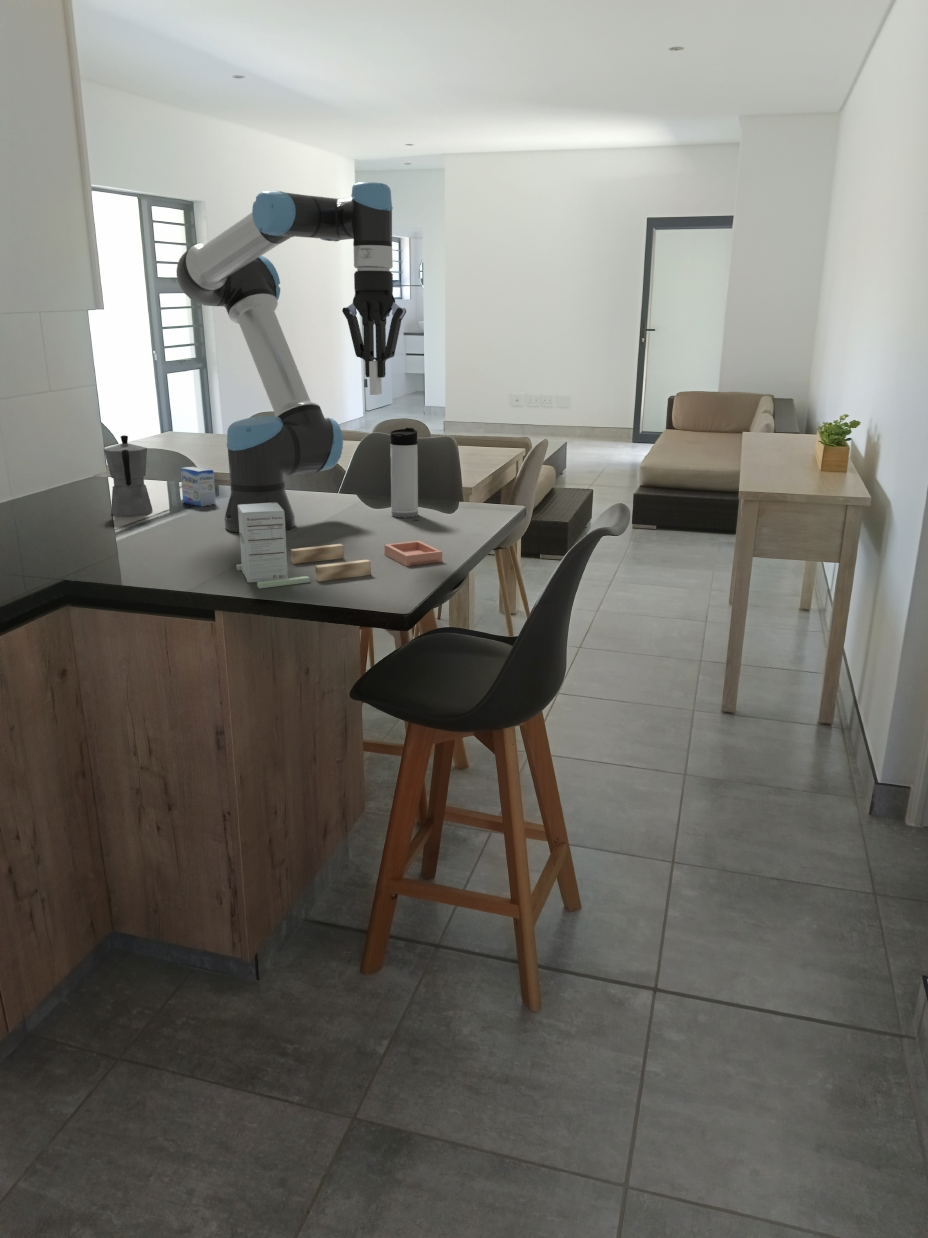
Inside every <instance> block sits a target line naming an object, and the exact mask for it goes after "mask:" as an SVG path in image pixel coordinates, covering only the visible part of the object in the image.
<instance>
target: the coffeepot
mask: <svg viewBox="0 0 928 1238" xmlns="http://www.w3.org/2000/svg"><path fill="white" fill-rule="evenodd" d="M119 438H120V440H121V443H120V444H117V445H113V446H110V447H107V448H104V449H103V452H104V456H105V460H106V464H107V467H108V471H109V476H110V478H112V479H113V486H112V490H111V491H112V492H111V507H110V508H111V509H110V513H111V514H112V515H113V516H115V517H140V516H146V515H149V514H151V513H152V512H153V506H152V503H151V500H150V499H151V498H150V495H149V492H148V488H147V485H146V484H145V477H146V475H147V473H146V472H147V456H148V455H147V453H148V452H147V451H148V448H147V447H145V446H141V445H137V444H132V443H128V441H129V439H128V438H129V436H128V435H124V434H123V435H121V436H120V437H119Z"/></svg>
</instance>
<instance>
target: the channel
mask: <svg viewBox="0 0 928 1238" xmlns="http://www.w3.org/2000/svg"><path fill="white" fill-rule="evenodd" d="M344 558H345V557H344V545H343V544H342V543H335V544H327V545H326V544H325V545H317V546H309V547H300V548H299V547H298V548H290V562H291V563H292V564H293V565H297V564H306V563H313V562H320V561H330V560H338V559H340V560H341V559H344ZM314 570H315V571H314V573H315V581H317V582H323V581H331V580H340V579H348V578H355V577H356V578H357V577H363V576H371V575H372V562H371V560H370V559H368V558H367V559H360V560H352V561H342V562H336V563H335V562H334V563H326V564H318V565H317V564H316V565H315V566H314Z"/></svg>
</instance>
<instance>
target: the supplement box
mask: <svg viewBox="0 0 928 1238" xmlns="http://www.w3.org/2000/svg"><path fill="white" fill-rule="evenodd" d="M238 518H239V532H240V533H239V532H238V533H239V546H240V547H239V548H240V562H241V563H240V564H242V570H241V571H242V573H243V575H244V578H245V579H246V582H247V583H248V584H249V583H257V582H264V581H272V580H280V579H288V578H289V571H288V554H287V553H288V552H287V537H286V536H287V535H286V533H287V530H285V514H284V510H283V509H282V508H281V506H280V505H279V504H278V503H258V504H242V505H238Z"/></svg>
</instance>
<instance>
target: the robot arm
mask: <svg viewBox="0 0 928 1238" xmlns="http://www.w3.org/2000/svg"><path fill="white" fill-rule="evenodd" d="M294 237H296V238H311V239H320V240H322V241H325V242H326V241H328V242H339V241H344V240H353V241H352V243H353V245H352V246H353V267H354V268H355V269H356V271H354V273H353V279H354V284H353V285H354V287H353V288H354V297H353V299H352V303H351V304H349V305H348V306H347V307H343V308H342V310H341V311H342V314H343V315H344V317H345V318H346V320H347V323H348V324H347V325H348V328H349V333H350V336H351V341H352V345H353V346H352V347H353V350H354V353H355V356H356V357H357V358H360V359H363V360H364V369H365V373H364V374H365V377H366V378H369V395H370V396H379V395H382V392H383V391H382V390H383V389H382V379H383V378H385V377H386V373H387V372H386V362H387V360H389V359H391V358H394V357H395V355H396V354H395V353H396V349H397V345H398V340H399V334H400V330H401V325H402V320H403V319H404V317H405V316H406V313H407V309H406V308H405V307H401V306H400V305H398V304H397V303H396V299H395V298H394V294H393V292H394V278H393V275H394V274H393V273H392V271H391V269H392V268H394V266H393V265H394V264H393V263H394V262H393V203H392V190H391V188H390V186H389V185H388V184H386V183H383V182H382V183H381V182H371V181H370V182H369V181H365V182H363V181H361V182H356V183H355V184H353V185H352V187H351V197H345V198H343V197H342V198H335V197H324V196H318V195H317V196H316V195H310V194H309V195H307V194H299V193H293V192H292V193H291V192H285V191H281V190H274V191H273V190H272V191H271V190H270V191H269V190H265V191H261V192H260V193H259V192H258V194H257V195H256V197H255V201H253V204H252V212H250V213H249V214H247V215H246V216H244V217H242V218H241V219H240V220H239V221H237V222H236V223H234V224H233V225H231V226H230V227H228V228H227V229H226V230H224V231H223V232H221V233H219V234H218V235H217V236H215V237H213V239H211V240H210V241H208V242H207V243H198V244H195V245H193V246H191V247H190V248H189V249H187V250H186V251H185V252H183V254H182V255H181V256H180V258H179V260H178V261H177V266H176V279H177V283H178V285H179V286H180V289H181V290H182V292H183V293H184V294H185V295H186V297H188V298H189V299H190V300H191V301H193V302H194V303H197V304H200V305H202V306H207V307H224V308H225V309H226V310H225V311H226V312H227V315H228V317H229V319H230V320H231V322H233V323H235V324H239V327H240V330H241V332H242V335H243V337H244V339H245V342H246V345H247V347H248V349H249V352H250V355H251V357H252V360H253V363H254V365H255V367H256V369H257V372H258V375H259V377H260V380H261V382H262V385H263V387H264V390H265V393H266V395H267V397H268V400H269V402H270V405H271V407H272V410H273V412H274V415H262V416H256V417H255V416H254V417H253V416H252V417H247V418H242V419H239V420H237V421H234V422H232V423H231V424H230V425H229V426H228V427H227V430H226V431H227V433H226V435H227V436H226V448H227V456H228V466H229V467H228V468H229V481H230V482H229V483H230V484H229V486H230V495H229V499H228V503H227V507H226V511H225V515H224V527H225V530H227V531H229V532H234V533H239V534H240V532H239V518H238V505H242V504H258V503H278V504H279V505H280V506H281V508H282V509H283V510H284V514H285V530H286V531H288V530H290V529H292V528H294V527H295V526H296V520H295V517H296V516H295V514H294V511H293V508H292V505H291V503H290V499H289V497H288V495H287V492H286V480H285V479H286V477H287V476H293V475H301V474H309V473H316V474H317V473H320V472H322V471H327V470H331V469H333V468H334V467H335V466H336V465H337V464H338V463H339V462H340V459H341V456H342V451H343V448H344V436H343V432H342V429H341V426H340V425H339V423H338V422H337V421H336V420H335V419H333V418H331V417H325V415H324V413H323V410H322V409H321V406H320V405H319V404H317V403H315V402H313V401H312V400H311V398H310V396H309V393H308V391H307V389H306V386H305V384H304V381H303V378H302V377H301V374H300V371H299V369H298V366H297V364H296V361H295V359H294V357H293V354H292V352H291V350H290V347H289V345H288V344H289V343H288V342H287V339H286V337H285V334H284V332H283V330H282V326H281V325H280V322H279V320H278V316H277V314H276V309H277V308H278V304H279V303H278V302H279V298H280V295H281V287H280V284H281V281H280V280H281V279H280V276H279V273H278V271H277V269H276V267H275V265H274V264H273V262H272V261H270V259H268V258H267V257H266V256H264V254H266V253H267V252H269V251H271V250H272V249H274V248H276V247H277V246H279V245H281V244H282V243H284V242H286V241H288V240H290V239H291V238H294ZM390 313H391V315H392V317H391V320H390V325H389V330H388V335H387V334H386V333H387V332H386V331H387V329H386V325H387V318H388V316H389V315H390ZM357 314H359V315H360V316H361V317H362V318H361V320H362V321H361V323H362V326H363V329H362V331H363V333H361V328H360V324H359V323H360V322H359V321H358V320H359V319H358V316H357ZM374 328H375V332H374ZM362 334H363V337H362ZM374 334H375V335H374ZM374 336H375V338H374ZM374 343H375V344H374ZM285 476H286V477H285Z"/></svg>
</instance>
